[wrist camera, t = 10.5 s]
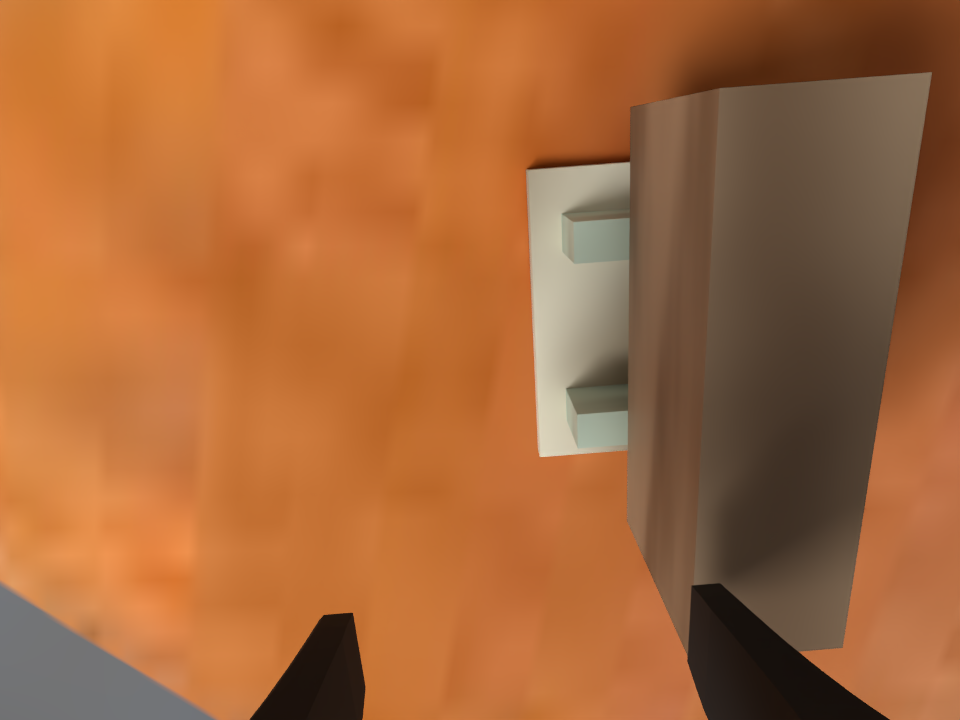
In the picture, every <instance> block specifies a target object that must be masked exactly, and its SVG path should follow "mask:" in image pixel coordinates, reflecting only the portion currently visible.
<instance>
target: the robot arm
mask: <svg viewBox="0 0 960 720" xmlns="http://www.w3.org/2000/svg"><path fill="white" fill-rule="evenodd" d="M687 661H688V664H689V667H690V670H691V673H692V676H693V680H694V683H695V686H696V689H697V691H698V694H699V697H700V700H701V703H702V706H703V709H704V711H705V713H706V716H707V718H708V720H890V719H888V718H887V717H885V716H884V715H882V714H881V713H879V712H878V711H876V710H875V709H873V708H872V707H870V706H869V705H867V704H866V703H864V702H863V701H862V700H860V699H859V698H857V697H856V696H855V695H853V694H852V693H850V692H849V691H848V690H846V689H845V688H844V687H842V686H841V685H840V684H839V683H837V682H836V681H835V680H833V679H832V678H831V677H829V676H828V675H827V674H825V673H824V672H823V671H821V670H820V669H819V668H818V667H816V666H815V665H814V664H813V663H811V662H810V661H809V660H808V659H806V658H805V657H804V656H803V655H802V654H800V653H799V652H798V651H797V650H796V649H794V648H793V647H792V646H791V645H790V644H788V643H787V642H786V641H785V640H784V639H783V638H781V637H780V636H779V635H778V634H777V633H776V632H774V631H773V630H772V629H771V628H770V627H769V626H768V625H766V624H765V623H764V622H763V621H762V620H761V619H760V618H759V617H757V616H756V615H755V614H754V613H753V612H752V611H751V610H750V609H748V608H747V607H746V606H745V605H744V604H743V603H742V602H741V601H740V600H738V599H737V598H736V597H735V596H734V595H733V594H732V593H731V592H729V591H728V590H727V589H726V588H725V587H724V586H723V585H722V584H720V583H716V584H704V585H691V603H690V622H689V641H688V660H687ZM364 698H365V682H364V676H363V670H362V664H361V658H360V652H359V647H358V641H357V635H356V629H355V623H354V617H353V613H343V614H331V615H324V616H323V617H322V618H321V619H320V620H319V622H318V623H317V625H316V626H315V628H314V629H313V631H312V632H311V634H310V636H309V637H308V639H307V640H306V642H305V643H304V645H303V646H302V648H301V649H300V651H299V652H298V654H297V655H296V657H295V658H294V660H293V661H292V663H291V664H290V666H289V667H288V669H287V670H286V671H285V673H284V674H283V676H282V677H281V678H280V680H279V681H278V682H277V684H276V685H275V687H274V688H273V689H272V691H271V692H270V694H269V695H268V696H267V698H266V699H265V700H264V702H263V703H262V704H261V706H260V707H259V708H258V710H257V711H256V712H255V713H254V715H253V716H252V717H251V718H250V720H362V718H363V708H364Z"/></svg>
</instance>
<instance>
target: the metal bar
mask: <svg viewBox="0 0 960 720" xmlns="http://www.w3.org/2000/svg"><path fill="white" fill-rule="evenodd" d="M931 76H932V72H928V73H915V74H902V75H888V76H875V77H862V78H849V79H835V80H822V81H809V82H795V83H782V84H769V85H755V86H742V87H729V88H718V89H714V90H709V91H704V92H699V93H695V94H690V95H685V96H681V97H676V98H671V99H667V100H662V101H657V102H653V103H648V104H643V105H639V106H634V107H631V115H630V232H629V348H628V464H627V522H628V524H629V526H630V529H631V531H632V533H633V535H634V538H635V540H636V542H637V544H638V546H639V549H640V551H641V553H642V555H643V558H644V560H645V562H646V564H647V566H648V569H649V571H650V573H651V575H652V578H653V580H654V582H655V584H656V586H657V589H658V591H659V593H660V595H661V598H662V600H663V602H664V604H665V607H666V609H667V611H668V613H669V615H670V618H671V620H672V622H673V624H674V627H675V629H676V631H677V633H678V635H679V638H680V640H681V642H682V644H683V647H684V649H685V651H686V653H687V656H688V641H689V622H690V603H691V585H704V584H716V583H720V584H722V585H723V586H724V587H725V588H726V589H727V590H728V591H729V592H731V593H732V594H733V595H734V596H735V597H736V598H737V599H738V600H740V601H741V602H742V603H743V604H744V605H745V606H746V607H747V608H748V609H750V610H751V611H752V612H753V613H754V614H755V615H756V616H757V617H759V618H760V619H761V620H762V621H763V622H764V623H765V624H766V625H768V626H769V627H770V628H771V629H772V630H773V631H774V632H776V633H777V634H778V635H779V636H780V637H781V638H783V639H784V640H785V641H786V642H787V643H788V644H790V645H791V646H792V647H793V648H794V649H796V650H797V651H810V650H822V649H834V648H843V641H844V635H845V629H846V622H847V616H848V609H849V603H850V596H851V590H852V584H853V577H854V571H855V564H856V558H857V551H858V545H859V539H860V532H861V526H862V519H863V513H864V506H865V500H866V494H867V487H868V481H869V474H870V468H871V461H872V455H873V449H874V442H875V436H876V429H877V423H878V416H879V410H880V404H881V397H882V391H883V384H884V378H885V371H886V365H887V359H888V352H889V346H890V339H891V333H892V326H893V320H894V314H895V307H896V301H897V294H898V288H899V281H900V275H901V269H902V262H903V256H904V249H905V243H906V236H907V230H908V224H909V217H910V211H911V204H912V198H913V191H914V185H915V179H916V172H917V166H918V159H919V153H920V146H921V140H922V134H923V127H924V121H925V114H926V108H927V101H928V95H929V89H930V82H931Z"/></svg>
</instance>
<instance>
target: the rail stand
mask: <svg viewBox="0 0 960 720" xmlns="http://www.w3.org/2000/svg"><path fill="white" fill-rule="evenodd" d="M526 182H527V205H528V228H529V252H530V275H531V298H532V321H533V344H534V368H535V391H536V414H537V437H538V451H539V455H540V457H547V456H560V455H572V454H585V453H598V452H611V451H623V450H628V348H629V232H630V162H620V163H606V164H593V165H579V166H566V167H552V168H539V169H526Z"/></svg>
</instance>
